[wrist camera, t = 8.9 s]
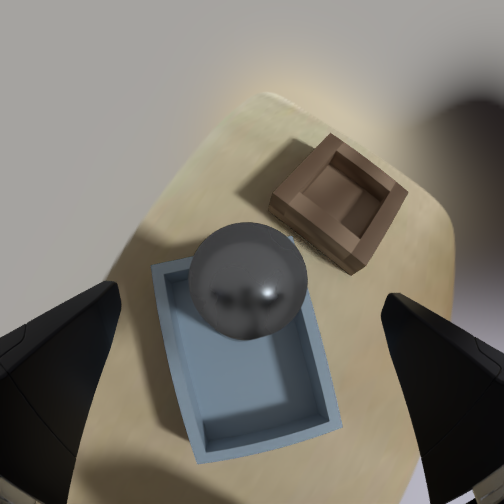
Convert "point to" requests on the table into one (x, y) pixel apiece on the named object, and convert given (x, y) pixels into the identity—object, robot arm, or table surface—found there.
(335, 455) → the table surface
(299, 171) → the socket block
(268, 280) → the metallic grey cylinder
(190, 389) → the tray
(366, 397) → the table surface
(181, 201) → the table surface
